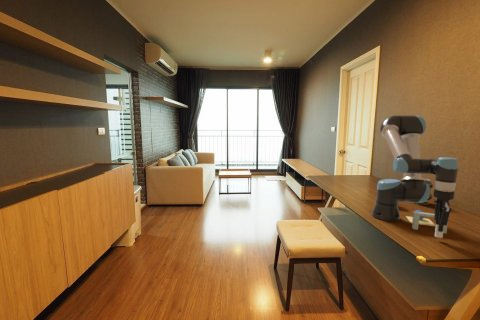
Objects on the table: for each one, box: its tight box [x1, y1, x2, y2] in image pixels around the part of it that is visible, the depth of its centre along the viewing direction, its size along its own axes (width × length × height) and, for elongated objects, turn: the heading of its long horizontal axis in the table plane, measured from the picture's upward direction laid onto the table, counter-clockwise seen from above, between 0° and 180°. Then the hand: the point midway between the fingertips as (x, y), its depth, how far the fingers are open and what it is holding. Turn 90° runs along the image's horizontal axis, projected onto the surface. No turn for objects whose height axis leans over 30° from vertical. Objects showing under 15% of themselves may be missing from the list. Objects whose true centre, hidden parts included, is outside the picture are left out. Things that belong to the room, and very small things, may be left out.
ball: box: [415, 209, 425, 219], centre depth 147 cm, size 6×6×6 cm
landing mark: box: [405, 215, 436, 227], centre depth 144 cm, size 12×12×1 cm
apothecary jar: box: [416, 178, 434, 206], centre depth 178 cm, size 12×12×18 cm
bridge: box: [411, 210, 449, 235], centre depth 130 cm, size 3×14×9 cm, turn 69°
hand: (438, 236), depth 119 cm, fingers closed
